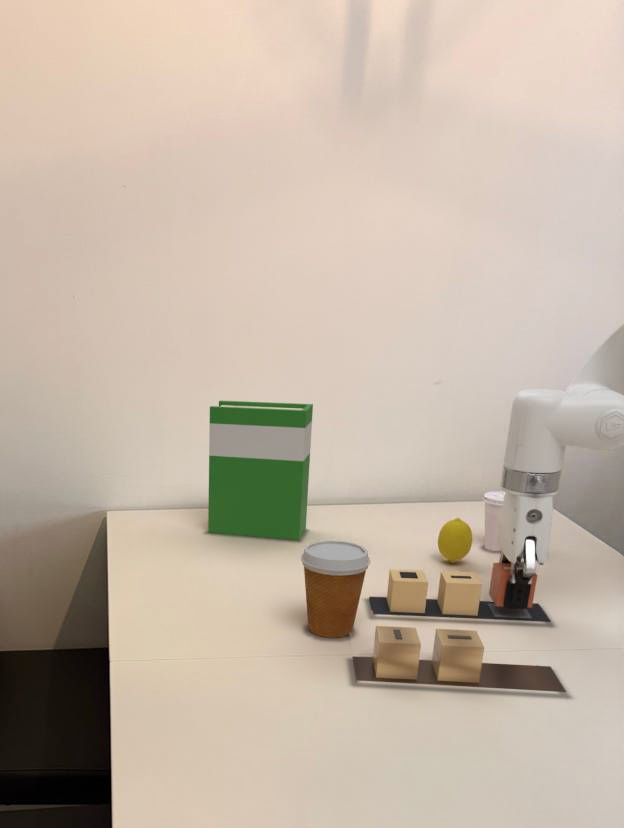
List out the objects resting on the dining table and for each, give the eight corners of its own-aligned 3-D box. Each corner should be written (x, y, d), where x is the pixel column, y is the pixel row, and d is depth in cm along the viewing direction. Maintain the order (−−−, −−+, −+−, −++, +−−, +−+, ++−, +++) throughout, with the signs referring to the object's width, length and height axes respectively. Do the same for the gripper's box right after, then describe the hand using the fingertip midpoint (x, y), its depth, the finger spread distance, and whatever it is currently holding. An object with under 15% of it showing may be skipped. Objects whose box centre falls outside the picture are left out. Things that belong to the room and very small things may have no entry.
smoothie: (504, 541, 160) (515, 466, 154) (520, 552, 154) (533, 475, 149) (470, 542, 159) (480, 468, 154) (485, 554, 154) (496, 476, 148)
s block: (523, 595, 130) (528, 563, 128) (532, 607, 126) (537, 574, 124) (488, 593, 131) (493, 561, 129) (495, 606, 126) (501, 573, 124)
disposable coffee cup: (356, 647, 119) (363, 565, 114) (288, 636, 123) (293, 556, 118) (370, 622, 127) (377, 544, 122) (306, 612, 131) (311, 536, 126)
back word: (538, 605, 132) (543, 571, 129) (550, 624, 125) (557, 588, 123) (369, 598, 135) (372, 565, 133) (373, 616, 129) (376, 581, 127)
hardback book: (208, 532, 168) (209, 406, 159) (217, 521, 174) (220, 400, 165) (299, 540, 162) (306, 411, 153) (305, 528, 169) (313, 404, 160)
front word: (550, 669, 112) (557, 630, 110) (565, 694, 106) (573, 653, 104) (352, 658, 116) (355, 621, 114) (356, 683, 109) (359, 643, 107)
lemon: (448, 555, 153) (453, 511, 150) (475, 563, 149) (482, 518, 146) (428, 561, 150) (433, 517, 147) (456, 570, 146) (462, 525, 143)
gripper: (576, 497, 113) (553, 624, 120) (542, 466, 129) (522, 581, 136) (516, 495, 114) (496, 622, 121) (489, 465, 130) (472, 579, 137)
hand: (510, 599), depth 128 cm, fingers closed on s block, 5 cm apart
